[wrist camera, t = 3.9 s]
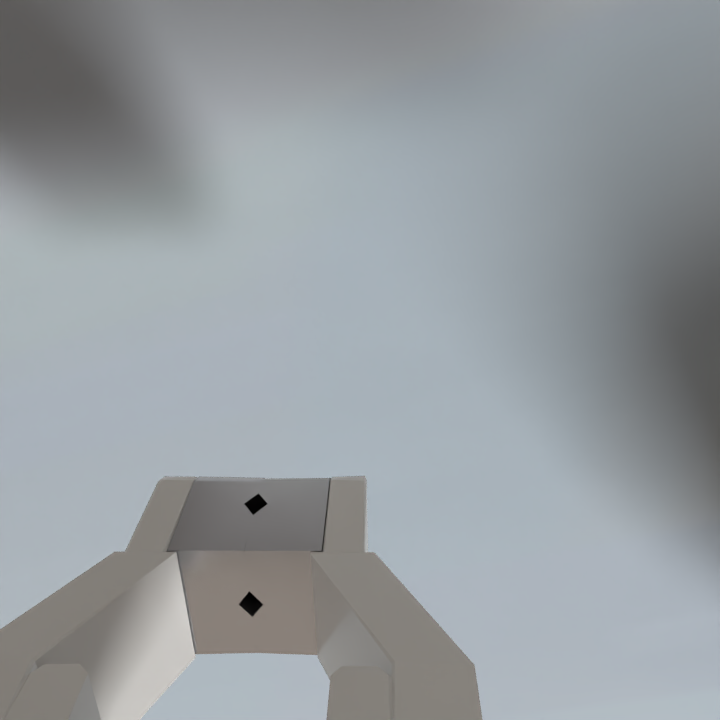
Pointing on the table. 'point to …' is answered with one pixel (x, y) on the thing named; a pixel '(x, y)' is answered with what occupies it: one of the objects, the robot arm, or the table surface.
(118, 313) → the table surface
